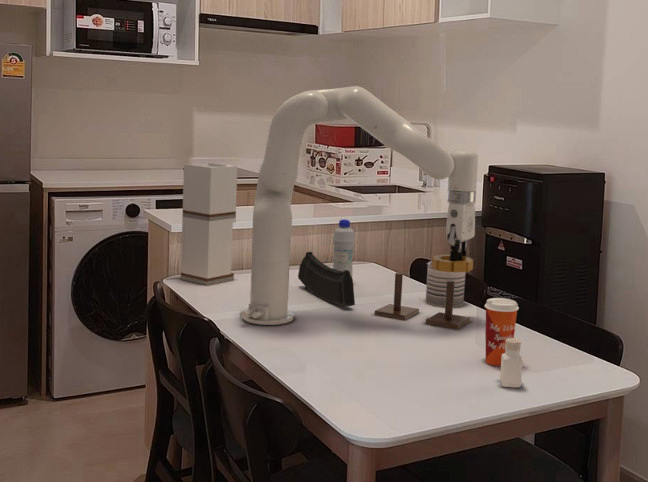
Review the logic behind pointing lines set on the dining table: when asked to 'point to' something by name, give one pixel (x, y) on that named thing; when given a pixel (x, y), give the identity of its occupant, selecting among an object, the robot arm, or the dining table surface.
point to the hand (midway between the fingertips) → (457, 265)
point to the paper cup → (499, 327)
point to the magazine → (326, 281)
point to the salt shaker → (511, 364)
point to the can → (444, 287)
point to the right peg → (448, 312)
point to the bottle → (343, 247)
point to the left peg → (397, 304)
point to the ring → (451, 264)
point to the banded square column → (208, 222)
